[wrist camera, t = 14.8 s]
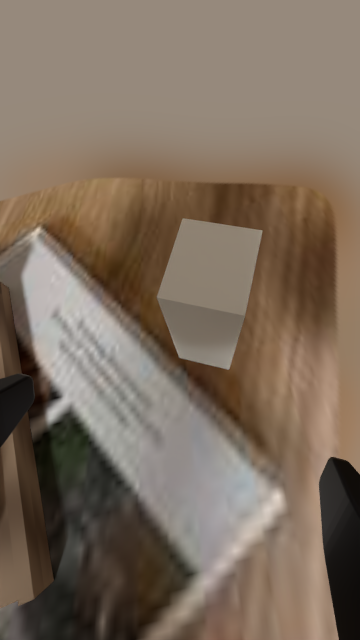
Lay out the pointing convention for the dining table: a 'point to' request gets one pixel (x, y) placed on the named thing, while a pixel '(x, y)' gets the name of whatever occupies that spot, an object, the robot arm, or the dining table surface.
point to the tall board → (208, 289)
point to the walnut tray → (19, 492)
